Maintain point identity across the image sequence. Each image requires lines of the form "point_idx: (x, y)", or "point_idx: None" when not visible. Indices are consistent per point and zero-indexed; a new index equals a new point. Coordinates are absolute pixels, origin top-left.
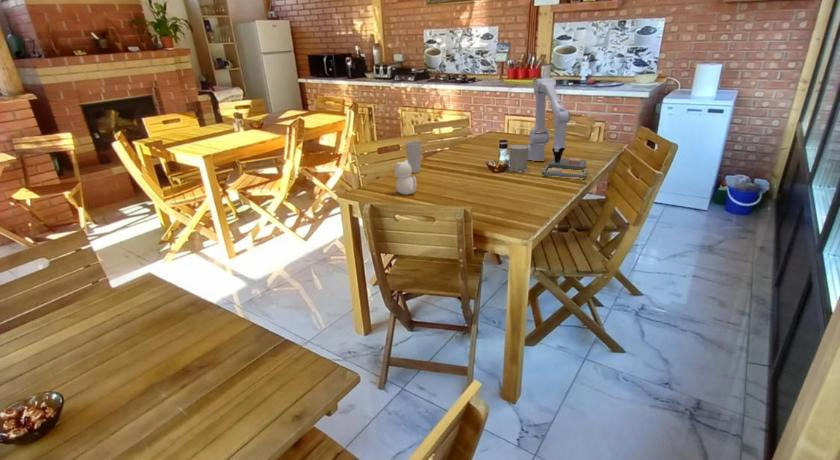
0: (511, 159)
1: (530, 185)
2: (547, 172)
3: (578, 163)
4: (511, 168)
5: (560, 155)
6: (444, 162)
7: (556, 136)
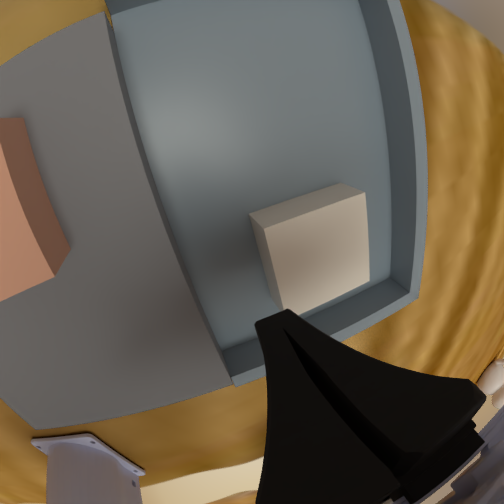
0: None
1: (488, 240)
2: (420, 265)
3: (17, 124)
4: None
5: (381, 367)
6: None
7: None
